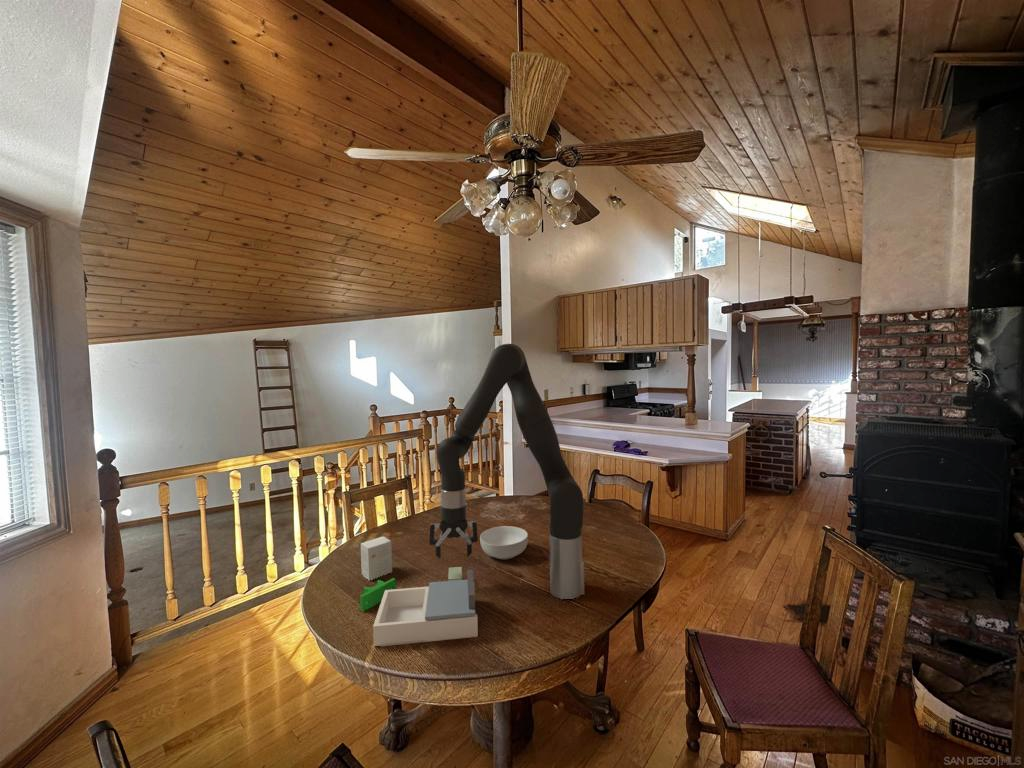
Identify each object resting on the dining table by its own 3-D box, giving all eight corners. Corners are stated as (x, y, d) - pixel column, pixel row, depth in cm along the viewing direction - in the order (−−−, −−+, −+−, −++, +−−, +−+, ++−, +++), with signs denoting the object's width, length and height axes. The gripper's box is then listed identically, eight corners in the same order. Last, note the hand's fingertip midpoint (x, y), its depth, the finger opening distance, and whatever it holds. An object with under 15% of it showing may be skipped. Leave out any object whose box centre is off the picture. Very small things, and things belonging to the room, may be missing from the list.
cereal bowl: (505, 540, 156) (505, 521, 155) (538, 553, 144) (537, 534, 144) (470, 554, 144) (470, 535, 144) (502, 571, 132) (502, 549, 132)
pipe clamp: (387, 590, 122) (387, 575, 122) (396, 594, 120) (395, 578, 119) (354, 608, 112) (354, 592, 112) (362, 613, 110) (362, 596, 110)
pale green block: (461, 579, 127) (461, 566, 127) (462, 591, 120) (461, 578, 120) (448, 580, 127) (448, 567, 127) (448, 592, 120) (448, 579, 120)
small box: (384, 566, 136) (383, 535, 136) (392, 572, 132) (391, 540, 132) (361, 575, 130) (360, 543, 130) (368, 581, 126) (367, 548, 126)
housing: (474, 599, 116) (474, 582, 115) (477, 636, 100) (477, 616, 99) (385, 608, 112) (384, 590, 112) (373, 647, 96) (373, 626, 96)
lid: (472, 581, 115) (472, 566, 115) (475, 615, 99) (474, 598, 99) (429, 585, 114) (429, 570, 114) (425, 620, 98) (424, 602, 98)
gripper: (476, 498, 127) (476, 549, 128) (430, 500, 125) (430, 552, 126) (477, 506, 120) (478, 560, 120) (428, 508, 118) (429, 563, 119)
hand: (453, 556), depth 123 cm, fingers open, 8 cm apart
